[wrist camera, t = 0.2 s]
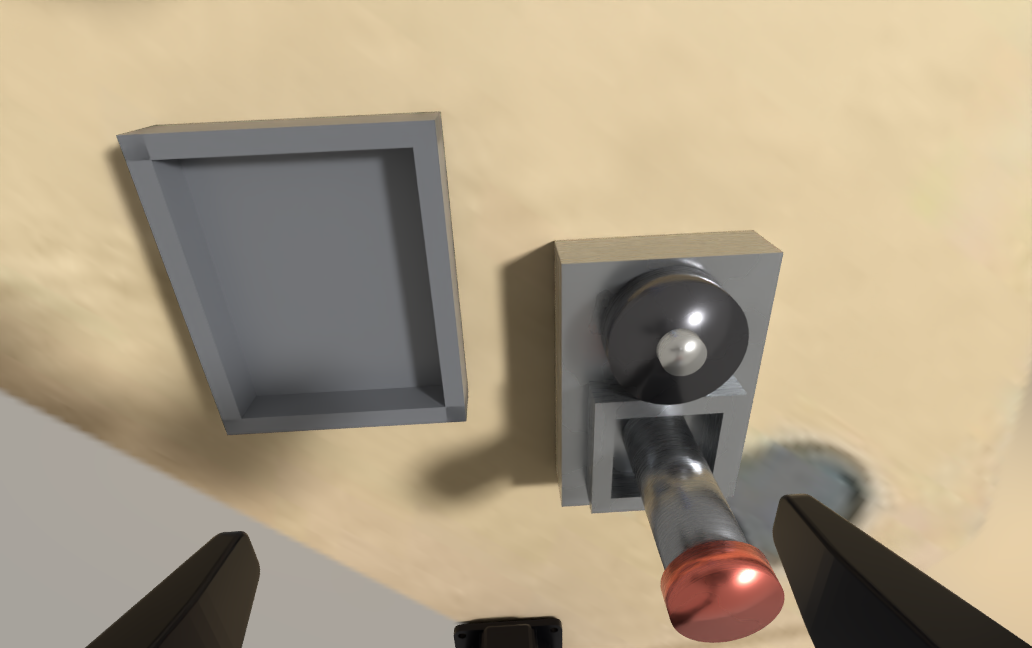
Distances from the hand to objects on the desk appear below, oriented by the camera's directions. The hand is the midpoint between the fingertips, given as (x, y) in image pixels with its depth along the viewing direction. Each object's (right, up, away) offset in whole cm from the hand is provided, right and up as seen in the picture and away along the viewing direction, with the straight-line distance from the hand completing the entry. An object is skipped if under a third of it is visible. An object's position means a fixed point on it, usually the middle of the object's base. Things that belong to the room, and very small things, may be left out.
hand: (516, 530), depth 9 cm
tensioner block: (+6, +2, +15) cm, 16 cm away
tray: (-7, +5, +13) cm, 16 cm away
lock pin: (+6, -1, +14) cm, 15 cm away
